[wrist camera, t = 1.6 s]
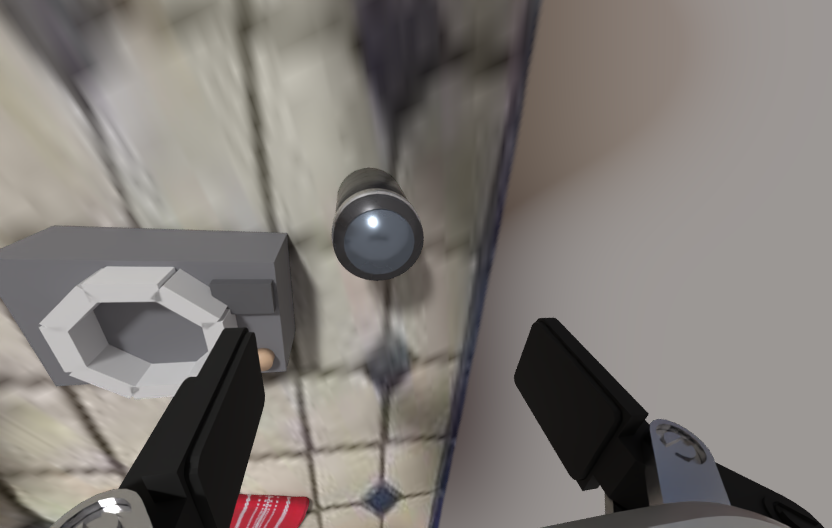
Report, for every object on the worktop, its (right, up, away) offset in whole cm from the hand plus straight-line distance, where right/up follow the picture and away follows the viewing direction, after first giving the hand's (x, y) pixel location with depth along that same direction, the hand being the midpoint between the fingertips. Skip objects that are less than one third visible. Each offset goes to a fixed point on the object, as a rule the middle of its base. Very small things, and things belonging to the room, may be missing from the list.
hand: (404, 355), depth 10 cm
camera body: (-18, +1, +15) cm, 23 cm away
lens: (-3, +8, +14) cm, 17 cm away
